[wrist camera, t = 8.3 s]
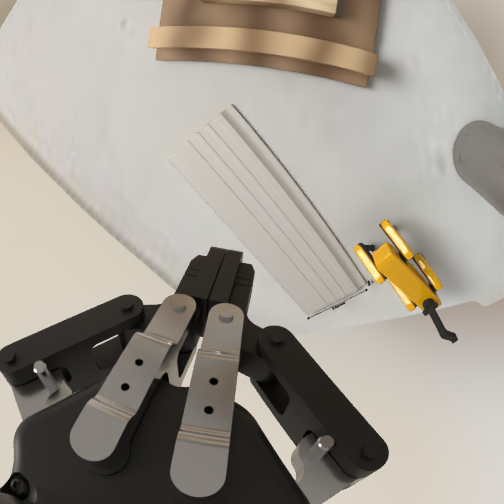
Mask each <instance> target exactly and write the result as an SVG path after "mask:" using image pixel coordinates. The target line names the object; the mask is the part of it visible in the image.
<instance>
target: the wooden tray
mask: <svg viewBox="0 0 504 504" xmlns="http://www.w3.org/2000/svg"><path fill="white" fill-rule="evenodd" d="M380 3H381V0H337V7H336V13H335V15H334V16H333V17H328V16H323V15H318V14H313V13H307V12H302V11H296V10H289V9H282V8H275V7H266V6H256V5H244V4H227V3H203V2H201V1H200V0H163V5H162V12H161V19H160V26H159V27H150V33H149V42H148V48H157V53H156V60H188V61H210V62H224V63H236V64H245V65H254V66H262V67H269V68H276V69H283V70H289V71H295V72H300V73H305V74H311V75H316V76H320V77H325V78H329V79H334V80H338V81H342V82H346V83H350V84H354V85H358V86H362V87H365V88H366V86H367V80H368V75H369V76H374V74H375V68H376V63H377V58H378V54H375V53H373V48H374V42H375V36H376V30H377V23H378V17H379V10H380Z"/></svg>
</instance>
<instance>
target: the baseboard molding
mask: <svg viewBox="0 0 504 504" xmlns="http://www.w3.org/2000/svg"><path fill="white" fill-rule="evenodd" d="M167 160H168V161H169V162H170V163H171V164H172V165H173V167H174V168H175V169H176V170H177V171H178V172H179V173H180V174H181V175H182V177H183V178H184V179H185V180H186V181H187V182H188V183H189V184H190V185H191V187H192V188H193V189H194V190H195V191H196V192H197V193H198V194H199V195H200V197H201V198H202V199H203V200H204V201H205V202H206V203H207V204H208V206H209V207H210V208H211V209H212V210H213V211H214V212H215V213H216V214H217V216H218V217H219V218H220V219H221V220H222V221H223V222H224V223H225V224H226V226H227V227H228V228H229V229H230V230H231V231H232V232H233V233H234V234H235V236H236V237H237V238H238V239H239V240H240V241H241V242H242V243H243V244H244V246H245V247H246V248H247V249H248V250H249V251H250V252H251V253H252V254H253V256H254V257H255V258H256V259H257V260H258V261H259V262H260V263H261V264H262V266H263V267H264V268H265V269H266V270H267V271H268V272H269V273H270V274H271V276H272V277H273V278H274V279H275V280H276V281H277V282H278V283H279V284H280V286H281V287H282V288H283V289H284V290H285V291H286V292H287V293H288V294H289V296H290V297H291V298H292V299H293V300H294V301H295V302H296V303H297V304H298V306H299V307H300V308H301V309H302V310H303V311H304V312H305V313H306V314H307V315H309V314H311V313H313V312H315V311H317V310H320V309H322V308H324V307H326V306H328V305H329V304H331V303H333V302H336V301H338V300H339V299H341V298H343V297H346V296H347V295H349V294H351V293H354V292H356V291H358V289H359V288H360V287H361V286H362V285H364V284H366V282H365V280H364V279H363V277H362V276H361V274H360V273H359V271H358V270H357V268H356V267H355V265H354V264H353V262H352V261H351V259H350V258H349V256H348V255H347V253H346V252H345V250H344V249H343V247H342V246H341V245H340V243H339V242H338V240H337V239H336V237H335V236H334V235H333V233H332V232H331V230H330V229H329V228H328V226H327V225H326V223H325V222H324V221H323V219H322V218H321V216H320V215H319V214H318V212H317V211H316V210H315V208H314V207H313V205H312V204H311V203H310V201H309V200H308V199H307V197H306V196H305V195H304V193H303V192H302V191H301V189H300V188H299V187H298V185H297V184H296V183H295V181H294V180H293V179H292V178H291V176H290V175H289V174H288V172H287V171H286V170H285V169H284V167H283V166H282V165H281V163H280V162H279V161H278V160H277V158H276V157H275V156H274V155H273V153H272V152H271V151H270V150H269V148H268V147H267V146H266V145H265V143H264V142H263V141H262V140H261V138H260V137H259V136H258V135H257V134H256V132H255V131H254V130H253V129H252V127H251V126H250V125H249V124H248V123H247V121H246V120H245V119H244V118H243V117H242V116H241V114H240V113H239V112H238V111H237V110H236V109H235V107H234V106H233V105H232V104H231V105H230V106H229V107H228V108H226V109H225V110H224V111H222V112H221V113H220V114H219V115H217V116H216V117H215V118H214V119H213V120H211V121H210V122H209V123H208V124H206V125H205V126H204V127H203V128H202V129H201V130H199V131H198V132H197V133H196V134H195V135H194V136H192V137H191V138H190V139H189V140H188V141H187V142H186V143H184V144H183V145H182V146H181V147H180V148H179V149H178V150H177V151H176V152H174V153H173V154H172V155H171V156H170V157H169V158H168V159H167ZM373 282H374V281H372V282H371V283H373ZM368 286H370V282H369V281H368ZM367 290H368V289H366V290H365V291H367ZM363 292H364V291H363ZM361 293H362V292H361ZM359 294H360V293H359ZM357 295H358V294H357ZM355 296H356V295H355ZM353 297H354V296H353ZM351 298H352V297H351ZM349 299H350V298H349ZM347 300H348V299H347ZM345 301H346V300H345ZM341 303H342V302H341ZM339 304H340V303H339ZM343 304H345V302H344V301H343V303H342V304H340V305H339V306H341V305H343ZM337 306H338V304H337ZM337 306H336V305H335V309H336V307H337ZM339 306H338V307H339ZM338 307H337V308H338ZM331 308H332V307H331ZM328 309H329V308H328ZM326 310H327V309H326ZM333 310H334V306H333ZM324 311H325V310H324ZM322 312H323V311H322ZM320 313H321V312H320ZM318 314H319V313H318ZM316 315H317V314H316ZM314 316H315V315H314ZM312 317H313V316H312ZM309 318H310V317H308V318H307V319H309Z"/></svg>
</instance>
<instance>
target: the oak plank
mask: <svg viewBox="0 0 504 504" xmlns="http://www.w3.org/2000/svg"><path fill="white" fill-rule="evenodd" d="M200 1H201V2H203V3H227V4H244V5H256V6H266V7H275V8H282V9H289V10H296V11H302V12H307V13H313V14H318V15H323V16H328V17H333V16H334V15H335V13H336V7H337V0H200Z"/></svg>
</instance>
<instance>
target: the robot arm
mask: <svg viewBox="0 0 504 504" xmlns="http://www.w3.org/2000/svg"><path fill="white" fill-rule="evenodd" d="M453 159H454V165H455V168H456V171H457V172H458V174H459V176H460V177H461V178H462V179H463V180H464V181H465V182H466V183H467V184H468V185H469V186H471V187H472V188H473V189H474V190H475V191H476V192H477V193H479V194H480V195H481V196H482V197H483V198H484V199H485V200H487V201H488V202H489V203H490V204H491V205H492V206H493V207H494V208H495V209H496V210H497V211H498V212H499V213H501V214H502V215H503V216H504V129H502V128H500V127H498V126H496V125H493V124H491V123H488V122H485V121H474V122H471V123H469V124H468V125H466V126H465V127H464V128H463V129H462V130H461V131H460V133H459V135H458V136H457V139H456V141H455V145H454V150H453ZM242 258H243V252H239V251H234V250H227V249H222V248H217V247H211V248H210V250H209V253H208V255H207V256H202V255H198V256H197V257H195V258H194V259H193V260H191V262H190V264H189V266H188V269H187V270H186V272H185V275H184V276H183V278H182V280H181V282H180V284H179V286H178V288H177V290H176V292H175V294H174V295H171V296H169V297H167V298H166V299H165V300H164V301H163V303H162V304H158V305H143V302H142V300H141V299H140V298H139V297H137V296H134V295H122V296H119V297H117V298H115V299H112V300H110V301H108V302H106V303H103V304H101V305H98V306H96V307H94V308H91V309H89V310H87V311H85V312H82V313H80V314H78V315H75V316H73V317H71V318H69V319H66V320H64V321H62V322H59V323H57V324H55V325H53V326H50V327H48V328H46V329H43V330H41V331H39V332H37V333H35V334H32V335H30V336H28V337H25V338H23V339H21V340H19V341H16V342H14V343H12V344H10V345H8V346H5V347H4V348H3V349H1V351H0V371H1V373H2V374H3V375H4V377H5V378H6V380H7V382H8V383H9V384H10V386H11V387H12V390H13V392H14V396H15V399H16V402H17V405H18V408H19V411H20V414H21V416H22V419H23V422H21V424H20V425H19V427H18V428H17V430H16V433H15V436H14V464H13V470H12V474H11V476H10V478H9V480H8V481H7V482H6V483H5V485H4V486H3V487H1V488H0V504H322V503H323V502H325V501H326V500H328V499H329V498H331V497H332V496H334V495H335V494H337V493H338V492H340V491H341V490H344V489H346V488H348V487H350V486H352V485H354V484H355V483H357V482H359V481H360V480H362V479H364V478H365V477H367V476H369V475H370V474H372V473H373V472H375V471H377V470H378V469H380V468H381V467H382V466H383V465H384V464H385V463H386V461H387V459H388V455H389V450H388V447H387V444H386V443H385V441H384V440H383V439H382V438H381V437H380V436H379V434H378V433H377V432H376V431H375V430H374V429H373V428H372V427H371V425H370V424H369V423H368V422H367V421H366V420H365V419H364V417H363V416H362V415H361V414H360V413H359V412H358V411H357V409H356V408H355V407H354V406H353V405H352V404H351V403H350V401H349V400H348V399H347V398H346V397H345V395H344V394H343V393H342V392H341V391H340V390H339V388H338V387H337V386H336V385H335V384H334V383H333V381H332V380H331V379H330V378H329V377H328V376H327V374H325V372H324V371H323V370H322V369H321V368H320V366H319V365H318V364H317V363H316V362H315V360H314V359H313V358H312V357H311V356H310V355H309V353H308V352H307V351H306V350H305V349H304V347H303V346H302V345H301V344H300V343H299V341H298V340H297V339H296V338H295V337H294V335H293V334H292V333H291V332H290V331H289V330H287V329H286V328H284V327H281V326H268V327H265V328H264V329H263V328H260V327H258V326H256V325H255V324H253V323H252V322H251V321H250V320H249V319H248V317H247V312H248V307H249V303H250V298H251V293H252V286H253V280H254V274H255V271H254V269H253V266H252V265H251V264H246V263H242ZM117 334H118V336H117V337H115V338H113V339H111V340H109V341H107V342H105V343H103V344H100V345H98V346H96V347H94V346H95V345H96V344H98V343H100V342H102V341H105V340H107V339H109V338H111V337H113V336H115V335H117ZM199 337H203V340H202V345H201V349H199V350H198V352H197V356H196V360H195V365H194V369H193V373H192V378H191V382H190V387H181V384H182V382H183V379H184V377H185V375H186V373H187V370H188V368H189V366H190V364H191V361H192V359H193V356H194V355H195V352H196V349H197V343H198V340H199ZM93 347H94V348H93ZM238 372H240V373H242V374H244V375H246V376H248V377H250V381H251V383H252V385H253V386H254V388H255V389H256V390H257V392H258V393H259V395H260V396H261V398H262V399H263V401H264V402H265V403H266V405H267V406H268V408H269V409H270V411H271V412H272V414H273V415H274V416H275V418H276V419H277V421H278V422H279V423H280V425H281V426H282V427H283V429H284V430H285V432H286V433H287V434H288V436H289V437H290V439H291V440H292V441H293V442H294V444H295V445H296V449H295V450H294V451H293V453H292V457H291V462H292V465H293V467H294V469H295V472H296V481H295V480H294V479H293V477H292V475H291V474H290V473H289V471H288V470H287V468H286V467H285V465H284V464H283V462H282V461H281V459H280V458H279V456H278V454H277V453H276V452H275V450H274V448H273V447H272V445H271V444H270V442H269V441H268V439H267V437H266V436H265V434H264V433H263V431H262V429H261V428H260V426H259V425H258V423H257V421H256V420H255V419H254V417H253V416H252V415H251V414H250V413H249V412H248V411H247V410H246V409H245V408H243V407H242V406H241V405H239V404H237V403H236V402H234V400H235V392H236V383H237V375H238ZM75 392H76V393H75ZM73 393H74V394H73ZM71 394H72V395H71Z"/></svg>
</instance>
